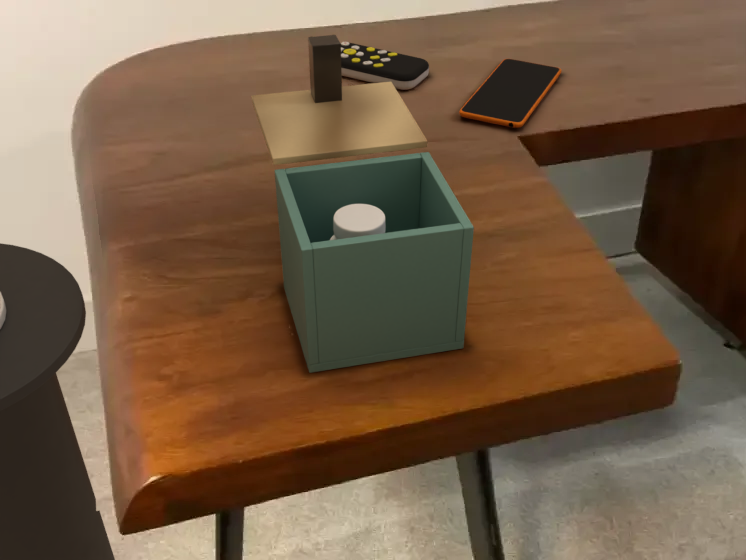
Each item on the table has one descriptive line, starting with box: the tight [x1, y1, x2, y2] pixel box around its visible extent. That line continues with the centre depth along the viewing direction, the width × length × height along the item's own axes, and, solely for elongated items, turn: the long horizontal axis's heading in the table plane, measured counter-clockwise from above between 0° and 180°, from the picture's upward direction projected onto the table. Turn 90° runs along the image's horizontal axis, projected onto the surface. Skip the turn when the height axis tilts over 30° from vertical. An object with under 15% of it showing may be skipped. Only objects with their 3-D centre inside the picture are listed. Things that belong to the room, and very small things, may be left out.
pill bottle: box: [330, 204, 385, 240], centre depth 73 cm, size 5×5×9 cm
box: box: [274, 151, 475, 373], centre depth 72 cm, size 13×12×11 cm
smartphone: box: [458, 58, 562, 129], centre depth 107 cm, size 8×17×1 cm, turn 156°
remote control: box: [340, 41, 430, 91], centre depth 111 cm, size 6×13×2 cm, turn 62°
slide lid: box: [251, 34, 428, 166], centre depth 75 cm, size 13×12×6 cm
